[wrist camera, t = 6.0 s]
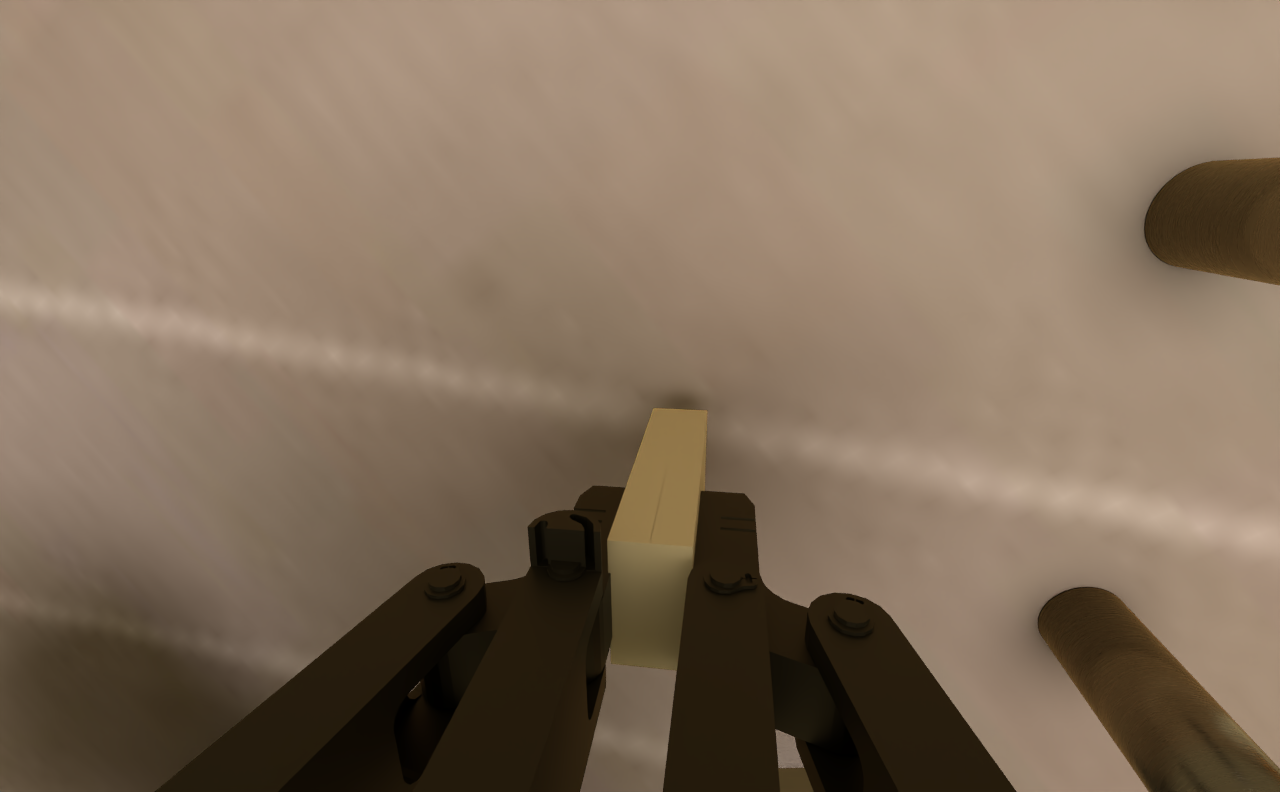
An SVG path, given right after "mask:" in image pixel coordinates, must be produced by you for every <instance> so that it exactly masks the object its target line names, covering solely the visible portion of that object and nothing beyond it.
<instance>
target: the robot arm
mask: <svg viewBox="0 0 1280 792" xmlns="http://www.w3.org/2000/svg"><path fill="white" fill-rule="evenodd" d="M706 438H707V410H685V409H663V408H653V411H652V414H651V416H650V419H649V422H648V425H647V428H646V431H645V434H644V436H643V439H642V442H641V445H640V448H639V451H638V454H637V456H636V459H635V462H634V465H633V468H632V471H631V474H630V476H629V479H628V482H627V485H626V488H623V487H608V486H592V487H591V488H590V489H588V490H587V491H586V492H584V493H583V494H582V495H580V497H579V499H578V501H577V503H576V505H575V507H574V510H563V511H556V512H551V513H547V514H545V515H543V516H541V517H539V518H537V519H535V520H534V521H533V522H532V523H531V524H530V525H529V526H528V537H529V549H530V561H531V567H530V569H529V571H528V573H527V574H526V576H524V577H521V578H518V579H513V580H508V581H501V582H493V583H486V584H485V579H484V575H483V574H482V572H481V571H480V569H479V568H477V567H475V566H472V565H470V564H465V563H449V564H442V565H439V566H436V567H433V568H430V569H427V570H426V571H424V572H422V573H421V574H419V575H418V576H416V577H415V578H414V579H412V580H411V581H410V582H409V583H407V584H406V585H405V586H404V587H403V588H401V589H400V590H399V591H398V592H397V593H395V594H394V595H393V596H392V597H390V598H389V599H388V600H387V601H386V602H384V603H383V604H382V605H381V606H380V607H378V608H377V609H376V610H375V611H374V612H372V613H371V614H370V615H369V616H367V617H366V618H365V619H364V620H363V621H361V622H360V623H359V624H358V625H357V626H355V627H354V628H353V629H352V630H350V631H349V632H348V633H347V634H346V635H344V636H343V637H342V638H341V639H340V640H338V641H337V642H336V643H335V644H334V645H332V646H331V647H330V648H329V649H327V650H326V651H325V652H324V653H323V654H321V655H320V656H319V657H318V658H317V659H315V660H314V661H313V662H312V663H310V664H309V665H308V666H307V667H306V668H304V669H303V670H302V671H301V672H300V673H298V674H297V675H296V676H295V677H293V678H292V679H291V680H290V681H289V682H287V683H286V684H285V685H284V686H283V687H281V688H280V689H279V690H278V691H277V692H275V693H274V694H273V695H272V696H270V697H269V698H268V699H267V700H266V701H264V702H263V703H262V704H261V705H260V706H258V707H257V708H256V709H255V710H253V711H252V712H251V713H250V714H249V715H247V716H246V717H245V718H244V719H243V720H241V721H240V722H239V723H238V724H237V725H235V726H234V727H233V728H232V729H230V730H229V731H228V732H227V733H226V734H224V735H223V736H222V737H221V738H220V739H218V740H217V741H216V742H215V743H213V744H212V745H211V746H210V747H209V748H207V749H206V750H205V751H204V752H203V753H201V754H200V755H199V756H198V757H196V758H195V759H194V760H193V761H192V762H190V763H189V764H188V765H187V766H186V767H184V768H183V769H182V770H181V771H180V772H178V773H177V774H176V775H175V776H173V777H172V778H171V779H170V780H169V781H167V782H166V783H165V784H164V785H163V786H161V787H160V788H159V789H158V790H156V791H155V792H580V789H581V785H582V781H583V777H584V773H585V769H586V765H587V761H588V757H589V753H590V749H591V744H592V740H593V736H594V732H595V728H596V724H597V720H598V716H599V712H600V708H601V704H602V700H603V696H604V692H605V688H606V664H605V663H606V659H607V656H608V652H609V648H610V649H611V664H620V665H629V666H639V667H648V668H658V669H667V670H677V674H676V683H675V691H674V700H673V709H672V717H671V726H670V735H669V743H668V752H667V761H666V769H665V778H664V787H663V792H780V783H779V770H778V757H777V745H776V732H775V729H777V730H779V731H782V732H784V733H787V734H789V735H792V736H794V737H795V740H796V747H797V750H798V752H799V755H800V758H801V760H802V763H803V765H804V768H805V771H806V773H807V776H808V778H809V781H810V784H811V786H812V789H813V791H814V792H1016V790H1015V789H1014V788H1013V786H1012V785H1011V783H1010V782H1009V781H1008V779H1007V778H1006V776H1005V775H1004V774H1003V772H1002V771H1001V769H1000V768H999V767H998V765H997V764H996V763H995V761H994V760H993V758H992V757H991V756H990V754H989V753H988V751H987V750H986V749H985V747H984V746H983V744H982V743H981V742H980V740H979V739H978V737H977V736H976V735H975V733H974V732H973V731H972V729H971V728H970V726H969V725H968V724H967V722H966V721H965V719H964V718H963V717H962V715H961V714H960V712H959V711H958V710H957V708H956V707H955V705H954V704H953V703H952V701H951V700H950V698H949V697H948V696H947V694H946V693H945V692H944V690H943V689H942V687H941V686H940V685H939V683H938V682H937V680H936V679H935V678H934V676H933V675H932V673H931V672H930V671H929V669H928V668H927V666H926V665H925V664H924V662H923V661H922V660H921V658H920V657H919V655H918V654H917V653H916V651H915V650H914V648H913V647H912V646H911V644H910V643H909V641H908V640H907V639H906V637H905V636H904V634H903V633H902V632H901V630H900V629H899V627H898V626H897V625H896V623H895V622H894V621H893V619H892V618H891V617H890V616H889V615H888V614H887V613H886V612H885V611H884V610H883V609H882V608H881V607H880V606H879V605H877V604H875V603H873V602H871V601H870V600H868V599H866V598H863V597H859V596H856V595H852V594H846V593H831V594H826V595H822V596H820V597H818V598H817V599H815V600H814V601H812V602H811V604H810V607H809V608H806V607H803V606H800V605H797V604H794V603H791V602H789V601H786V600H784V599H782V598H780V597H779V596H777V595H775V594H774V593H772V592H771V591H770V590H769V589H768V588H767V587H766V586H765V584H764V583H763V581H762V578H761V576H760V573H759V560H758V547H757V533H756V522H755V506H754V504H753V503H752V502H751V501H750V500H749V498H748V497H747V496H746V495H745V494H743V493H728V492H712V491H705V469H706ZM419 682H420V683H419ZM418 683H419V684H418ZM417 684H418V685H417ZM416 685H417V686H416ZM415 686H416V688H415V689H414V690H412V689H413V688H414V687H415ZM411 690H412V691H411ZM410 691H411V692H410ZM409 692H410V693H409Z"/></svg>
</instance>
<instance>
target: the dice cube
mask: <svg viewBox="0 0 1280 792" xmlns="http://www.w3.org/2000/svg"><path fill="white" fill-rule="evenodd" d="M778 770H779V783H780V792H814V791H813V789H812V786H811V784H810V781H809V778H808V776H807V773H806V771H805V768H778Z"/></svg>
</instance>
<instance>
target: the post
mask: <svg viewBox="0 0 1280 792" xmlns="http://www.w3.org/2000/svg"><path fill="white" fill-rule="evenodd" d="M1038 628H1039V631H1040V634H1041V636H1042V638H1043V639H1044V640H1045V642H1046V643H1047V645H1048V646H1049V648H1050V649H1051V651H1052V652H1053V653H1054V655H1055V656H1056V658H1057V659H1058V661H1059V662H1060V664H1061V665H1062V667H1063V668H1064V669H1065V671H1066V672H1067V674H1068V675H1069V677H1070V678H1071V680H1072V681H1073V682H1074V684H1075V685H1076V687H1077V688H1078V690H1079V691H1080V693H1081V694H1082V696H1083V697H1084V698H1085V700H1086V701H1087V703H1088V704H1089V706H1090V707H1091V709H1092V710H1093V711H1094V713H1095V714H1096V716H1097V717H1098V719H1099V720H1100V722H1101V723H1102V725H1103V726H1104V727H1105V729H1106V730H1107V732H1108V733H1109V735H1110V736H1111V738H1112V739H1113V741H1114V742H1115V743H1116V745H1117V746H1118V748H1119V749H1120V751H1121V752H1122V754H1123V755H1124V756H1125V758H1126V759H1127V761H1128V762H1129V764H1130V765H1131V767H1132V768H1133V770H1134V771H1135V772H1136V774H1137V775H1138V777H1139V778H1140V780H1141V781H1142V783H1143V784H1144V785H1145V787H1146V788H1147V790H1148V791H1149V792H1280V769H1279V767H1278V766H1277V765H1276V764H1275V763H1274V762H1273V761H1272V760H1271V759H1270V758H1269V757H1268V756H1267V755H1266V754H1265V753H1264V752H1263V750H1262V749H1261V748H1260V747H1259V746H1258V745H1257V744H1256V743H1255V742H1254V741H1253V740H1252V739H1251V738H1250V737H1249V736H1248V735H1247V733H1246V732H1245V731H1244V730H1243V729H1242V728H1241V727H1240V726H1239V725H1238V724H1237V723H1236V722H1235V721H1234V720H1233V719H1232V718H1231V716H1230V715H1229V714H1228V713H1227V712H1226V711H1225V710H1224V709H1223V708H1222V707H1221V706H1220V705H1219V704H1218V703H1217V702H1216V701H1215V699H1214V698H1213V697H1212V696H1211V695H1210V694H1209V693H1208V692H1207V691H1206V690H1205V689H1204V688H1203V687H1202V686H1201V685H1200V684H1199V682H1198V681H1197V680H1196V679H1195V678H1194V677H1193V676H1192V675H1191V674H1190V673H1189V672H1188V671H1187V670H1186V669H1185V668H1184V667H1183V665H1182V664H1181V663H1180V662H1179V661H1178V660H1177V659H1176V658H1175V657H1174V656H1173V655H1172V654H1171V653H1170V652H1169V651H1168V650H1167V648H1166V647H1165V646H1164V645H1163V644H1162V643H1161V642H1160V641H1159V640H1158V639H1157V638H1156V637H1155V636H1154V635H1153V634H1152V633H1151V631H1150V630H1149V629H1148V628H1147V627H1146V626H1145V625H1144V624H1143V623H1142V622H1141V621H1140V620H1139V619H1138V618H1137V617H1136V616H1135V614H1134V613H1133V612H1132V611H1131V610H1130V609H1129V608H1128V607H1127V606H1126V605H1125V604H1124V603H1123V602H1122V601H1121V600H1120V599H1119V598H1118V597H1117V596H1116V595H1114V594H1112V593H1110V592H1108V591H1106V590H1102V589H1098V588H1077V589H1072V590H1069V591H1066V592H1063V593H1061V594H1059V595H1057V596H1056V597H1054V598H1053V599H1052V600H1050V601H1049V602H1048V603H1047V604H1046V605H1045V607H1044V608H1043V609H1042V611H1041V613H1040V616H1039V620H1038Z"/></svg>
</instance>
